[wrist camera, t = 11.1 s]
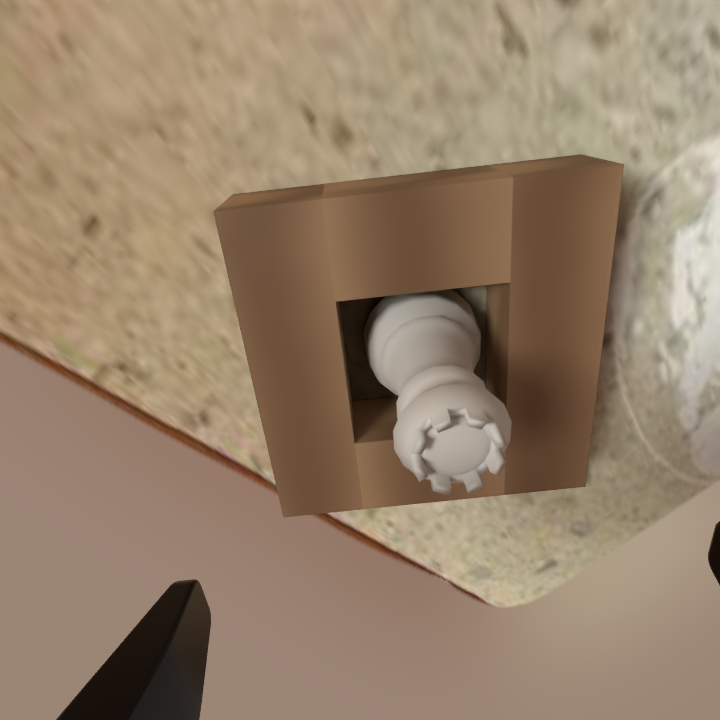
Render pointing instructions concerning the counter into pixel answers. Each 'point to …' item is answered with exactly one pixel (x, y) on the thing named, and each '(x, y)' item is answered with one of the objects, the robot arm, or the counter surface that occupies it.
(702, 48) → the counter surface
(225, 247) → the walnut socket
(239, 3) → the counter surface
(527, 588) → the counter surface
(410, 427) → the rook chess piece
